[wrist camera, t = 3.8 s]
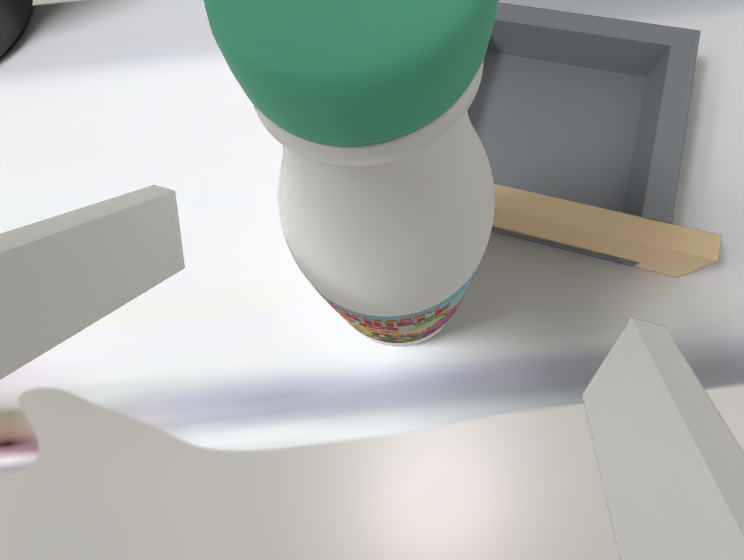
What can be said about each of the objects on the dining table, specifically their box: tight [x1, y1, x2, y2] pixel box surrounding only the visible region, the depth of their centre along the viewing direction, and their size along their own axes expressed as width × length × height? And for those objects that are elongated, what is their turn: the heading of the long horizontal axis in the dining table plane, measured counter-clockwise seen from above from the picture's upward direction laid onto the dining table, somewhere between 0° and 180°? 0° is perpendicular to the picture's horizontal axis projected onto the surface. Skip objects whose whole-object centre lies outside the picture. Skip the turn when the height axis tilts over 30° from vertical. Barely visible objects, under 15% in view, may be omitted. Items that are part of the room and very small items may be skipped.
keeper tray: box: [467, 3, 721, 278], centre depth 25 cm, size 20×15×3 cm
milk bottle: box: [204, 0, 498, 347], centre depth 15 cm, size 8×8×20 cm
